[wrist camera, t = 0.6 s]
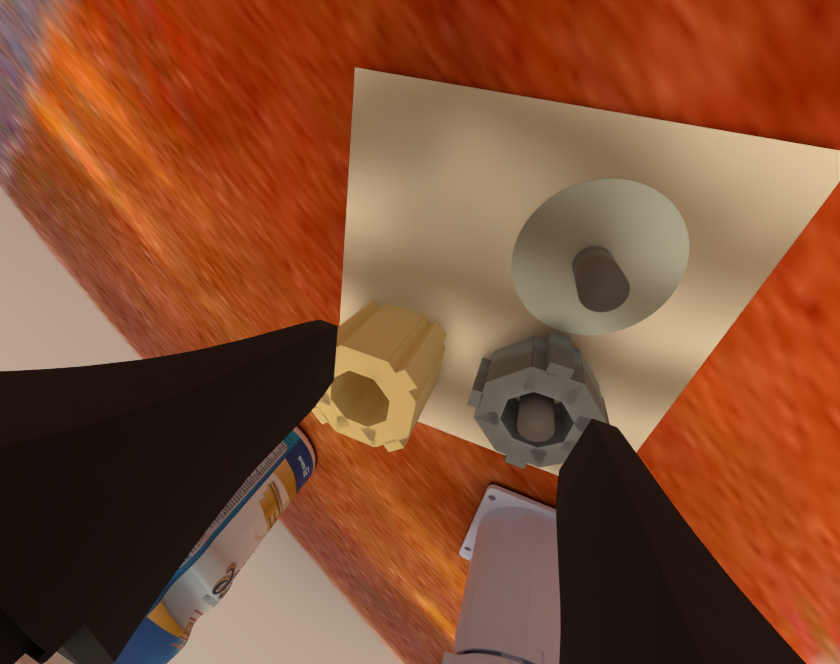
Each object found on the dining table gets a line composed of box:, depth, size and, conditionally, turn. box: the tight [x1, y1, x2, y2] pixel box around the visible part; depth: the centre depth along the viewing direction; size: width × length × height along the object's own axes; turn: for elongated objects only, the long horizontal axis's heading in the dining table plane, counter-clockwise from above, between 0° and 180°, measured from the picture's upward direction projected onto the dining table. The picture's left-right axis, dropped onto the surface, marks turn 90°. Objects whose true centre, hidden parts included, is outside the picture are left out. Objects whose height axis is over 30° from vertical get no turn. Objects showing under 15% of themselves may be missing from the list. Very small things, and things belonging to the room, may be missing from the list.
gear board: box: [340, 68, 840, 476], centre depth 16 cm, size 18×18×5 cm
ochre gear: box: [311, 301, 447, 452], centre depth 18 cm, size 5×5×5 cm
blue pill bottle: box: [15, 426, 315, 664], centre depth 22 cm, size 8×8×20 cm
